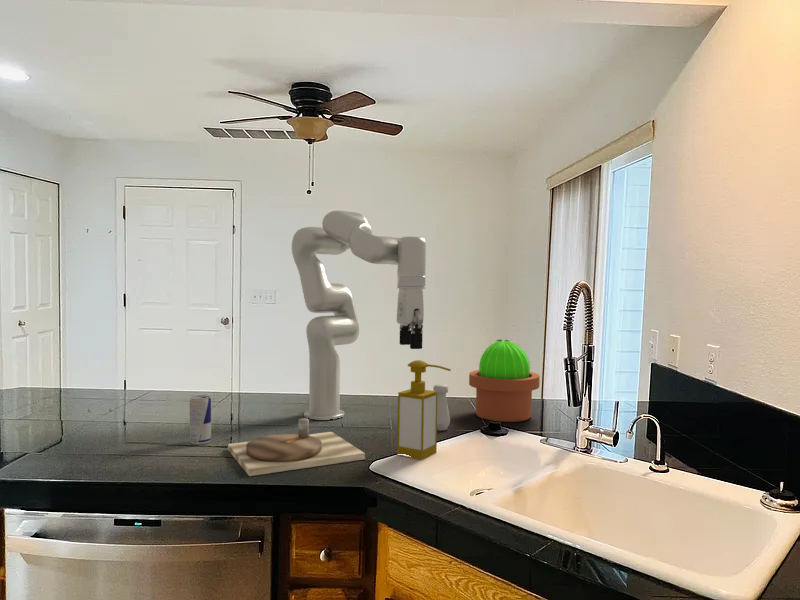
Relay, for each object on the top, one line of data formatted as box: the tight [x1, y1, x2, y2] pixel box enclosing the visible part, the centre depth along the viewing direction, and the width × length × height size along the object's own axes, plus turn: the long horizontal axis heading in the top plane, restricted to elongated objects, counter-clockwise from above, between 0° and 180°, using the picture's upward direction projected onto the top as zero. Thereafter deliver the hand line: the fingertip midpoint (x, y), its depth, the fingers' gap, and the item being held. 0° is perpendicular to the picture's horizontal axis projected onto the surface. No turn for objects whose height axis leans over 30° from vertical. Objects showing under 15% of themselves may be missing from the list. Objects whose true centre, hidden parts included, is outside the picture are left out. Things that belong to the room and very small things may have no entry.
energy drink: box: [189, 394, 212, 446], centre depth 157 cm, size 5×5×12 cm
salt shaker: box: [432, 383, 451, 431], centre depth 174 cm, size 6×6×13 cm
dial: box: [246, 417, 322, 461], centre depth 145 cm, size 18×18×6 cm
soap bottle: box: [396, 360, 452, 461], centre depth 148 cm, size 7×13×24 cm, turn 58°
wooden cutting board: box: [227, 431, 366, 477], centre depth 148 cm, size 22×28×2 cm
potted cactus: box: [468, 339, 541, 423], centre depth 191 cm, size 22×22×25 cm
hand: (410, 346), depth 161 cm, fingers open, 9 cm apart
